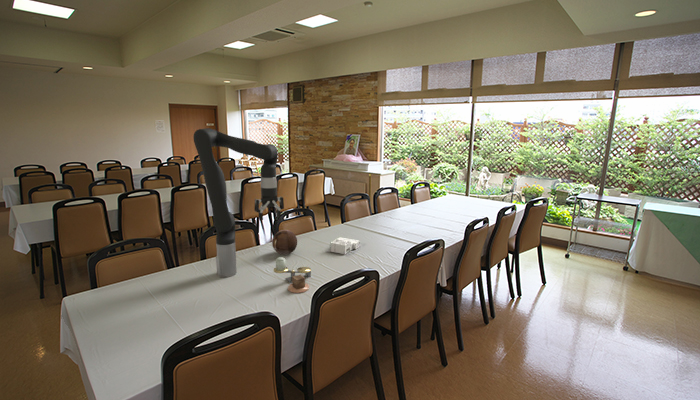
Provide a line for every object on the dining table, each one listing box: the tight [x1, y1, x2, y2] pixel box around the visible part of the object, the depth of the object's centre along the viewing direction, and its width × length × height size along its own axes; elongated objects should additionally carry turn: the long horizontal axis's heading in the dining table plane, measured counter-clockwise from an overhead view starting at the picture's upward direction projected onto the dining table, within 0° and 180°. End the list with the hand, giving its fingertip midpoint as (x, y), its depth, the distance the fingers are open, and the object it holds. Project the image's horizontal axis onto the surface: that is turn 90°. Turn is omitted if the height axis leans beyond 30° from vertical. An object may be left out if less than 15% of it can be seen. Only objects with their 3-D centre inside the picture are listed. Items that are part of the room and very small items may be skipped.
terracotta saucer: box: [287, 282, 310, 294], centre depth 167 cm, size 10×10×1 cm
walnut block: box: [291, 273, 306, 290], centre depth 166 cm, size 4×4×5 cm
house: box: [329, 237, 361, 255], centre depth 222 cm, size 22×18×6 cm
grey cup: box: [275, 256, 287, 271], centre depth 170 cm, size 5×5×6 cm
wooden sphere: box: [271, 229, 298, 256], centre depth 211 cm, size 15×15×15 cm
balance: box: [273, 266, 312, 284], centre depth 175 cm, size 20×7×7 cm, turn 126°
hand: (269, 218), depth 169 cm, fingers open, 8 cm apart
